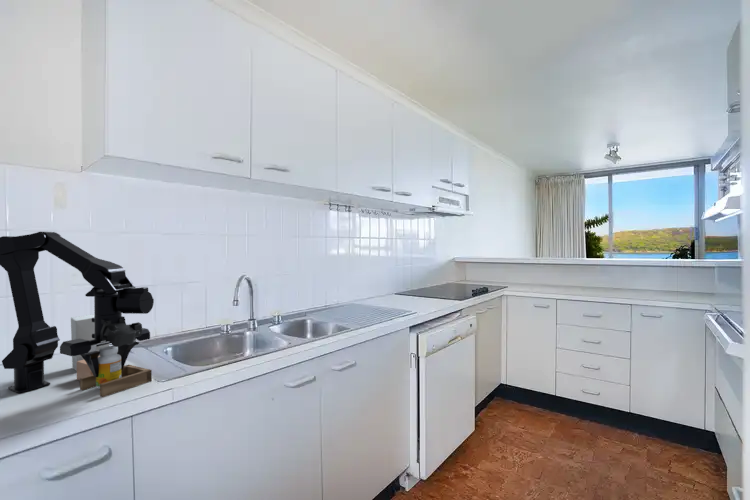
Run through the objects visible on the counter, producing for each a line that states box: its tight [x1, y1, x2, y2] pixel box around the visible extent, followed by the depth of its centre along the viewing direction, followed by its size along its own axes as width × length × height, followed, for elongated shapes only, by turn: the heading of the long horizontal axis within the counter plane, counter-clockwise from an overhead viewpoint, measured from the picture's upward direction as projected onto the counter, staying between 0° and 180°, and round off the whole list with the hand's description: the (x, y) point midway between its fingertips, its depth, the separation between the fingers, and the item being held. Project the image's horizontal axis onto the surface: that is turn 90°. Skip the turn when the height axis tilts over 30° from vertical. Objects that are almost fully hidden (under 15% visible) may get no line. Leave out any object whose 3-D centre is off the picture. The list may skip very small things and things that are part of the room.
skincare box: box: [70, 314, 110, 372], centre depth 112 cm, size 8×7×16 cm
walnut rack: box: [79, 364, 153, 398], centre depth 98 cm, size 10×12×3 cm
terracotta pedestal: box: [76, 356, 100, 381], centre depth 103 cm, size 7×7×5 cm
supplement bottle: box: [95, 345, 121, 389], centre depth 96 cm, size 5×5×10 cm
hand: (108, 373), depth 96 cm, fingers closed on supplement bottle, 5 cm apart
